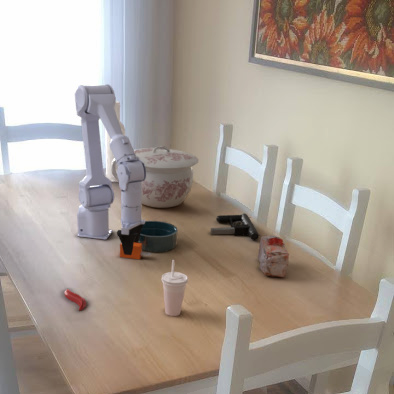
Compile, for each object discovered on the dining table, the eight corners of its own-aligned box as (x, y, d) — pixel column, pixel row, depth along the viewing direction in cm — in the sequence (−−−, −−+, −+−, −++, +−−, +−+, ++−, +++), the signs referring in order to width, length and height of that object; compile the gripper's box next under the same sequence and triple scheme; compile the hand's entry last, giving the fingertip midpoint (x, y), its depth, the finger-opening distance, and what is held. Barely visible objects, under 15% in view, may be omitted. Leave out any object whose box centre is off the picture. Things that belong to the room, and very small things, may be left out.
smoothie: (159, 306, 145) (161, 254, 138) (184, 306, 146) (188, 255, 138) (160, 318, 140) (162, 265, 132) (186, 318, 140) (190, 266, 133)
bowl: (126, 249, 175) (126, 233, 172) (137, 233, 187) (137, 218, 184) (172, 255, 173) (172, 239, 171) (180, 238, 185) (181, 223, 183)
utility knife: (119, 257, 169) (119, 244, 167) (122, 253, 172) (122, 240, 170) (149, 260, 169) (149, 248, 167) (151, 257, 171) (152, 244, 169)
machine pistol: (214, 234, 184) (263, 232, 186) (205, 213, 201) (250, 211, 203) (214, 243, 186) (262, 241, 188) (205, 222, 203) (249, 221, 204)
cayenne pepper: (88, 310, 141) (88, 303, 140) (69, 311, 139) (68, 304, 138) (81, 288, 150) (80, 282, 149) (63, 290, 149) (62, 283, 148)
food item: (288, 279, 164) (294, 247, 159) (261, 279, 163) (265, 246, 158) (278, 260, 175) (283, 230, 170) (252, 260, 175) (257, 229, 169)
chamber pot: (209, 202, 219) (213, 146, 208) (168, 220, 199) (171, 159, 188) (150, 187, 231) (151, 133, 220) (106, 202, 211) (105, 144, 200)
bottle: (103, 181, 234) (102, 102, 218) (109, 176, 240) (108, 99, 225) (122, 183, 233) (122, 104, 217) (127, 178, 240) (127, 101, 224)
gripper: (139, 214, 156) (138, 260, 163) (150, 198, 168) (149, 242, 175) (114, 211, 156) (114, 257, 163) (127, 196, 168) (127, 239, 176)
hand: (131, 249), depth 169 cm, fingers open, 7 cm apart
